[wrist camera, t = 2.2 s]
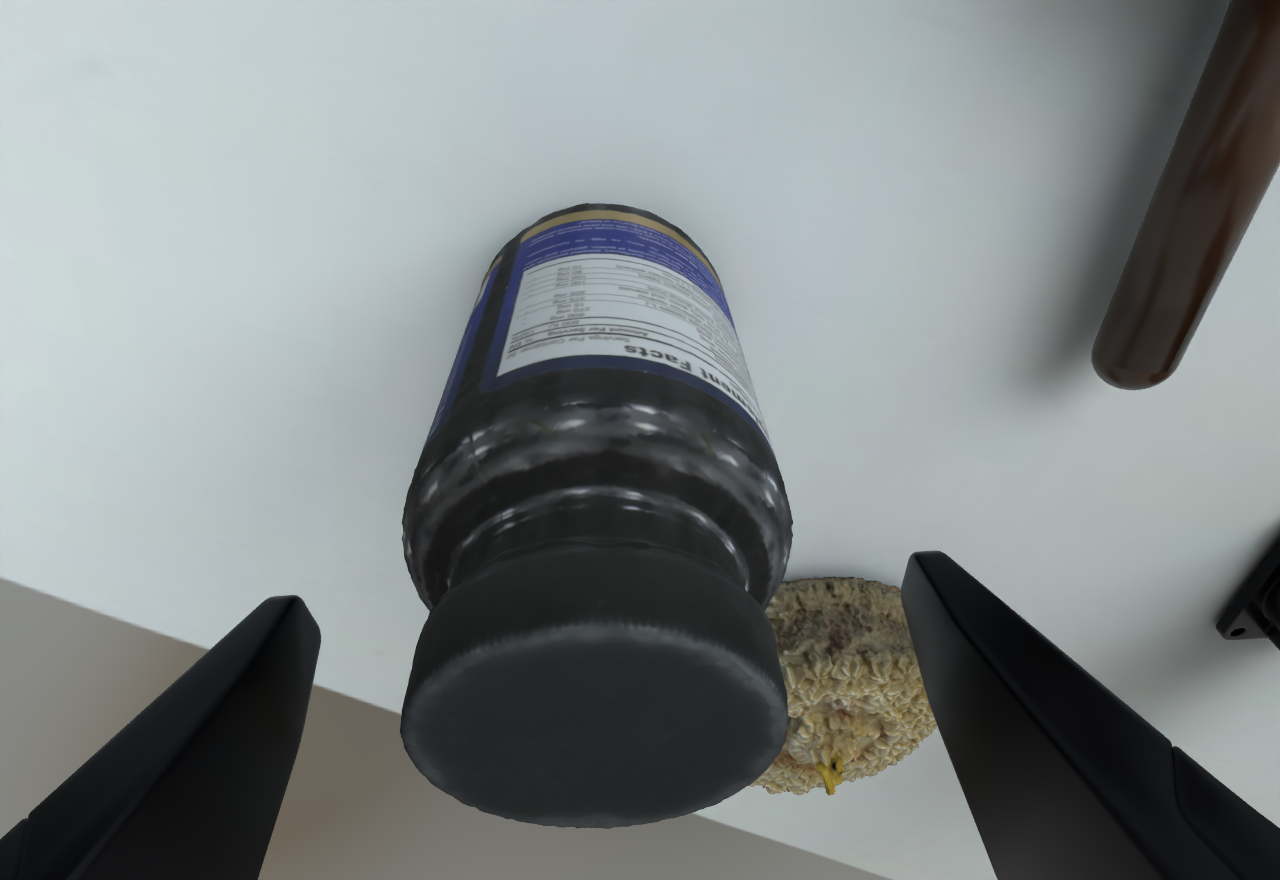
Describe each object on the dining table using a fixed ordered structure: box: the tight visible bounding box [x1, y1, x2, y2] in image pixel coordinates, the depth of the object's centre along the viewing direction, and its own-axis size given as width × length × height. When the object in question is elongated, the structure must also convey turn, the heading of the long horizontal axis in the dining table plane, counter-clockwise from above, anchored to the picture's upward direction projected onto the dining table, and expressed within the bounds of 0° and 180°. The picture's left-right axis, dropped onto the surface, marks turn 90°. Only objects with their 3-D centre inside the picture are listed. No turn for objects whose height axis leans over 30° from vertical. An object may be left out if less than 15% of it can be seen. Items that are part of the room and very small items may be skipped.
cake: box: [748, 577, 937, 795], centre depth 24 cm, size 10×10×5 cm
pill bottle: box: [400, 203, 793, 829], centre depth 12 cm, size 6×6×11 cm
